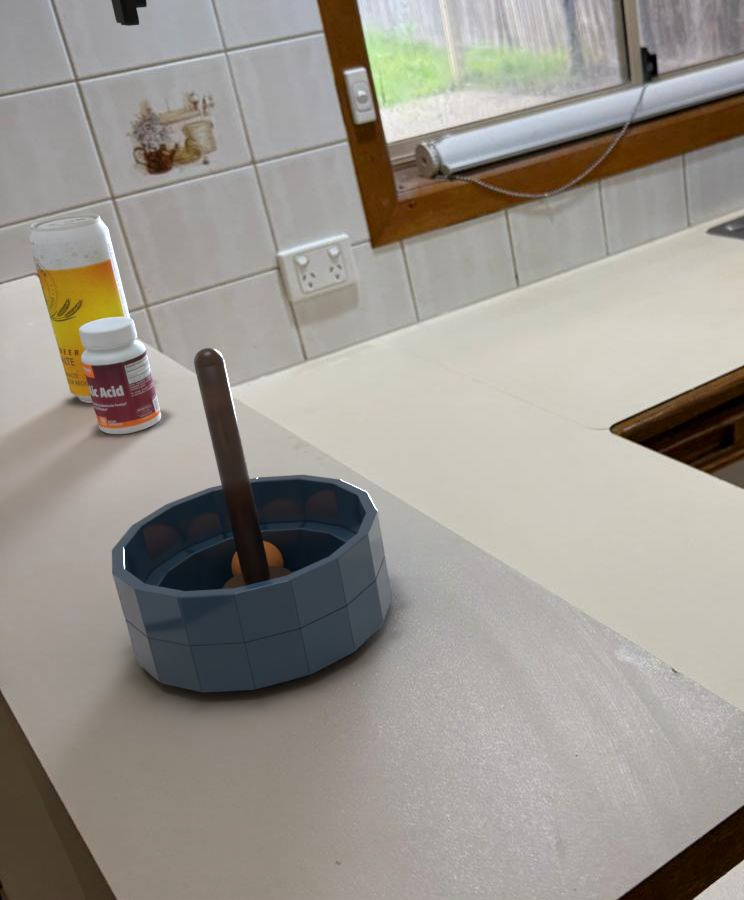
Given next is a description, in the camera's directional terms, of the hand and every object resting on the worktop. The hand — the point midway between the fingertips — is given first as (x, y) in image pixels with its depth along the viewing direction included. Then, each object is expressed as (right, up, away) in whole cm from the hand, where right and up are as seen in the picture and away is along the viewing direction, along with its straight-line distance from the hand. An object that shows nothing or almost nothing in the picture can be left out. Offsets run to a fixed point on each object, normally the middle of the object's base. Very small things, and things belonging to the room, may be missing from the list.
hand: (29, 33), depth 58 cm
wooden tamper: (+11, -30, +4) cm, 32 cm away
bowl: (+11, -31, +4) cm, 33 cm away
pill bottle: (-9, -19, +34) cm, 40 cm away
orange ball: (+10, -28, +6) cm, 30 cm away
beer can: (-14, -16, +41) cm, 46 cm away
